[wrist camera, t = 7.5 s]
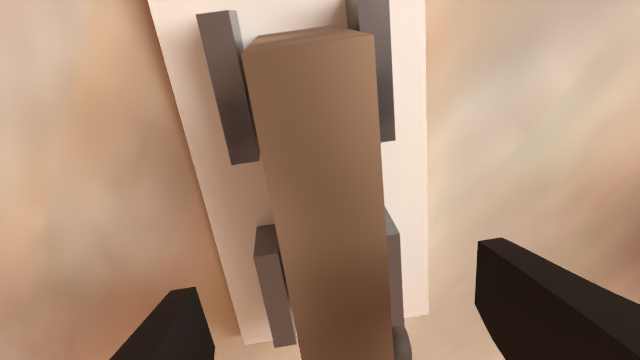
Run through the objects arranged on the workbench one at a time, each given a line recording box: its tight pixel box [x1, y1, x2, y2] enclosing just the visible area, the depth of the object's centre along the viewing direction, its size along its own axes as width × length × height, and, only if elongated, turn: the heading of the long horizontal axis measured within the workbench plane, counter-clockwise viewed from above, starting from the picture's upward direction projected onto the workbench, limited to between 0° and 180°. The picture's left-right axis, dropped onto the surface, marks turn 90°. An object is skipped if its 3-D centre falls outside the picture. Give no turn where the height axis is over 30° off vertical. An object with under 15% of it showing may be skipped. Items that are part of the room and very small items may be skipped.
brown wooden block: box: [241, 25, 412, 360], centre depth 14 cm, size 4×12×7 cm, turn 7°
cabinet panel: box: [148, 0, 429, 345], centre depth 17 cm, size 10×18×1 cm, turn 7°
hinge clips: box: [196, 0, 404, 348], centre depth 16 cm, size 6×14×2 cm, turn 7°
